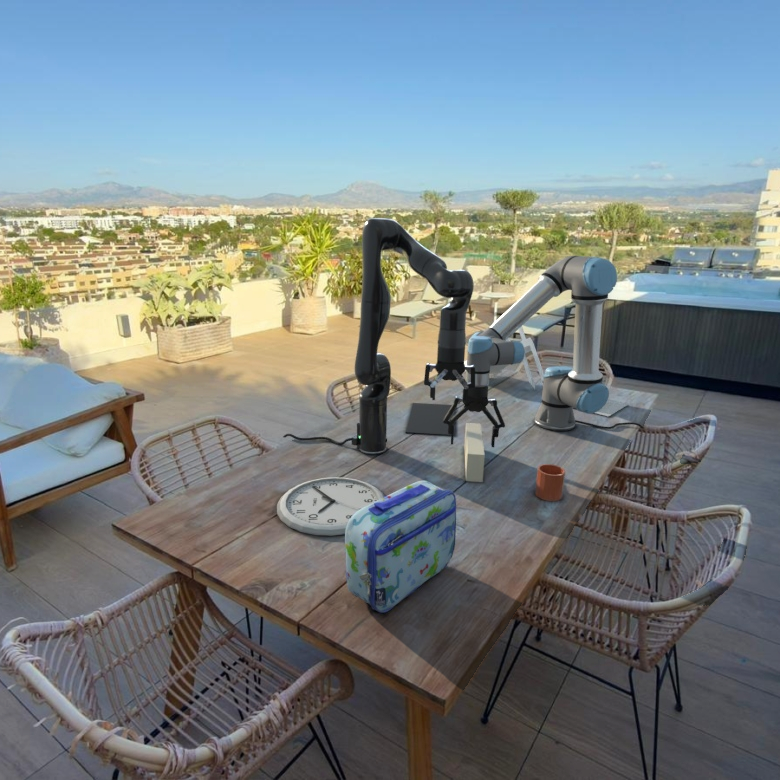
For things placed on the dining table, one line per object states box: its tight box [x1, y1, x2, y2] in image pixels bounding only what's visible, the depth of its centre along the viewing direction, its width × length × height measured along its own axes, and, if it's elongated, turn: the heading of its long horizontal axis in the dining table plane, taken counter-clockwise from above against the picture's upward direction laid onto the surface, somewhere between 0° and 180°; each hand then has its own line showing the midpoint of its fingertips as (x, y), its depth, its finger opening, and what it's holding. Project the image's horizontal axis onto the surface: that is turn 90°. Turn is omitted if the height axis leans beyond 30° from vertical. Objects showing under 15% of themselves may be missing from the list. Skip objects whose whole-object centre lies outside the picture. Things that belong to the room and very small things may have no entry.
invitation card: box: [594, 399, 628, 418], centre depth 226 cm, size 21×1×15 cm
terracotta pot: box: [534, 463, 566, 502], centre depth 149 cm, size 7×7×8 cm
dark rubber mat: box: [405, 402, 456, 437], centre depth 209 cm, size 18×34×1 cm, turn 173°
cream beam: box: [464, 422, 486, 483], centre depth 169 cm, size 5×26×9 cm, turn 173°
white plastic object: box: [463, 325, 545, 390], centre depth 260 cm, size 37×45×31 cm
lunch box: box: [344, 480, 457, 614], centre depth 109 cm, size 26×11×21 cm, turn 135°
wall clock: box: [276, 476, 386, 537], centre depth 143 cm, size 30×2×30 cm
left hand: (448, 400), depth 149 cm, fingers open, 8 cm apart
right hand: (472, 444), depth 176 cm, fingers open, 13 cm apart
